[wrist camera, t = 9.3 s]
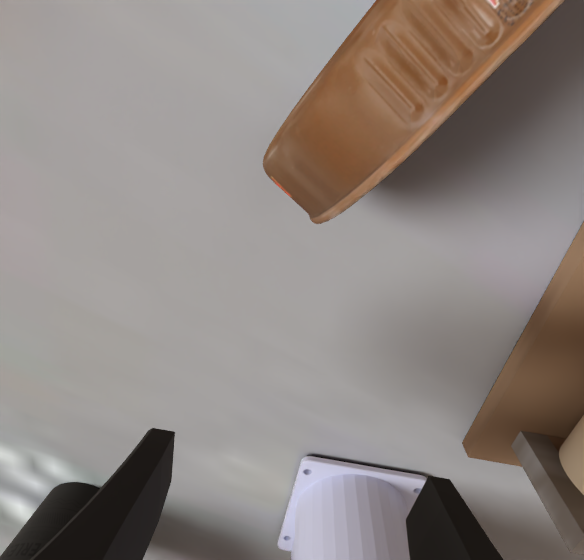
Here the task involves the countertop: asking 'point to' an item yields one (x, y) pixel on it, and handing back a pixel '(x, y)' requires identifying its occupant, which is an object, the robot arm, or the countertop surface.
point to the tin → (391, 93)
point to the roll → (574, 455)
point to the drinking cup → (49, 519)
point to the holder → (542, 398)
